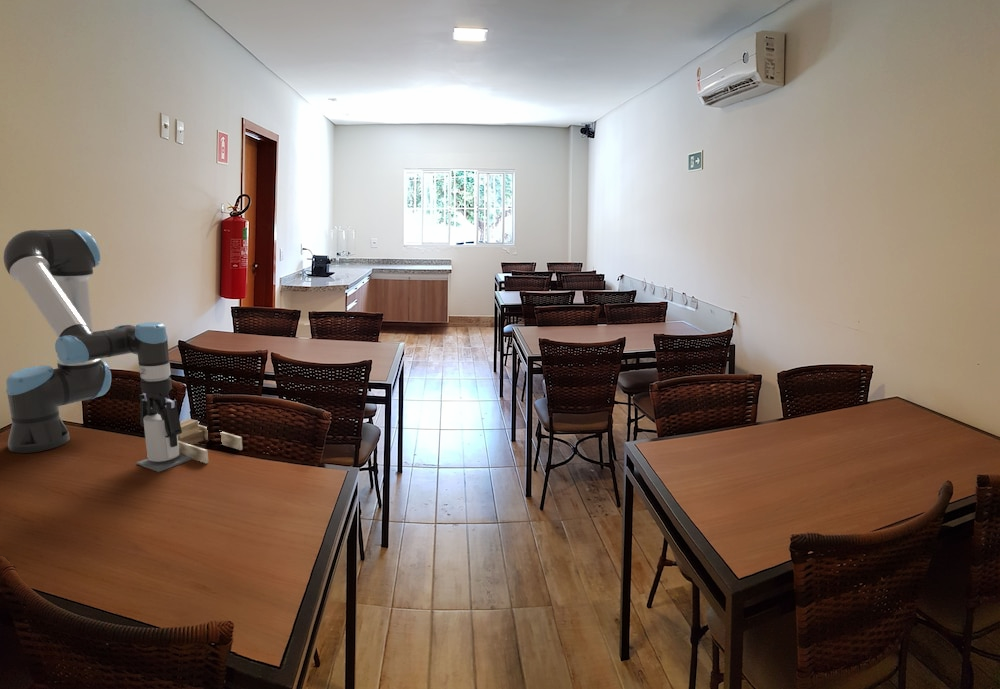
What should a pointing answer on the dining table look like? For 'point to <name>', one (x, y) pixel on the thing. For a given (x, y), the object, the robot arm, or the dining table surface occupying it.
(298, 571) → the dining table surface
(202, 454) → the rack
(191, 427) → the offcut top
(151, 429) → the cup
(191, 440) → the offcut low
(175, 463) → the mat
